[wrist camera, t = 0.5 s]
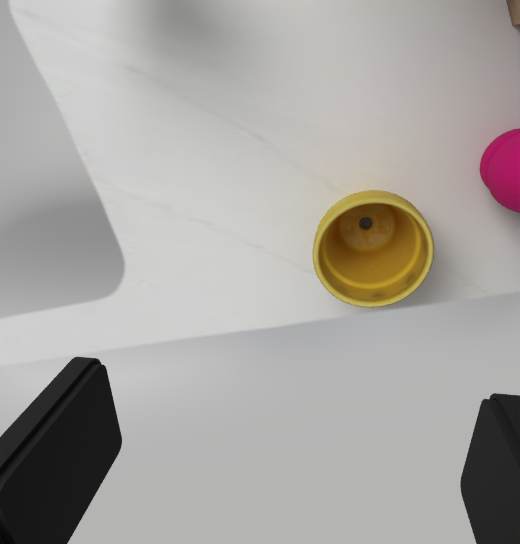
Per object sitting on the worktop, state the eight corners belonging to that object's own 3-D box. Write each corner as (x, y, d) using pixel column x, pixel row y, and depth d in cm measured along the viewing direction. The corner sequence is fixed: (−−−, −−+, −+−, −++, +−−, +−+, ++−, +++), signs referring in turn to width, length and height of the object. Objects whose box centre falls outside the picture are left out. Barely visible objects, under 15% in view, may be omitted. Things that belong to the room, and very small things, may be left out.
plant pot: (306, 187, 44) (299, 215, 35) (406, 162, 41) (426, 184, 33) (328, 273, 48) (327, 317, 39) (421, 255, 45) (442, 297, 36)
